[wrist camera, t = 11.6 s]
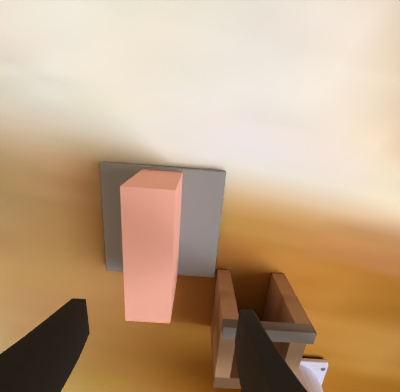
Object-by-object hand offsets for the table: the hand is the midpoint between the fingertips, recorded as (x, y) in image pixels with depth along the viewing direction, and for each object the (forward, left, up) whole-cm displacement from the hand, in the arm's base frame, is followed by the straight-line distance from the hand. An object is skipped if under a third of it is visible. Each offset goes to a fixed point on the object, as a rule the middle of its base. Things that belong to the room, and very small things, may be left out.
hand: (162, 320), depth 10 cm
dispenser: (-7, -7, -10) cm, 14 cm away
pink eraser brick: (0, +2, -9) cm, 9 cm away
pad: (0, +2, -10) cm, 10 cm away
